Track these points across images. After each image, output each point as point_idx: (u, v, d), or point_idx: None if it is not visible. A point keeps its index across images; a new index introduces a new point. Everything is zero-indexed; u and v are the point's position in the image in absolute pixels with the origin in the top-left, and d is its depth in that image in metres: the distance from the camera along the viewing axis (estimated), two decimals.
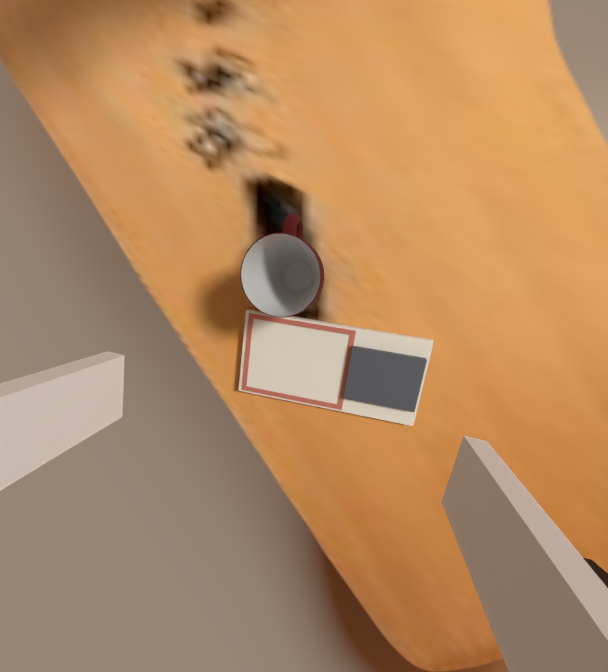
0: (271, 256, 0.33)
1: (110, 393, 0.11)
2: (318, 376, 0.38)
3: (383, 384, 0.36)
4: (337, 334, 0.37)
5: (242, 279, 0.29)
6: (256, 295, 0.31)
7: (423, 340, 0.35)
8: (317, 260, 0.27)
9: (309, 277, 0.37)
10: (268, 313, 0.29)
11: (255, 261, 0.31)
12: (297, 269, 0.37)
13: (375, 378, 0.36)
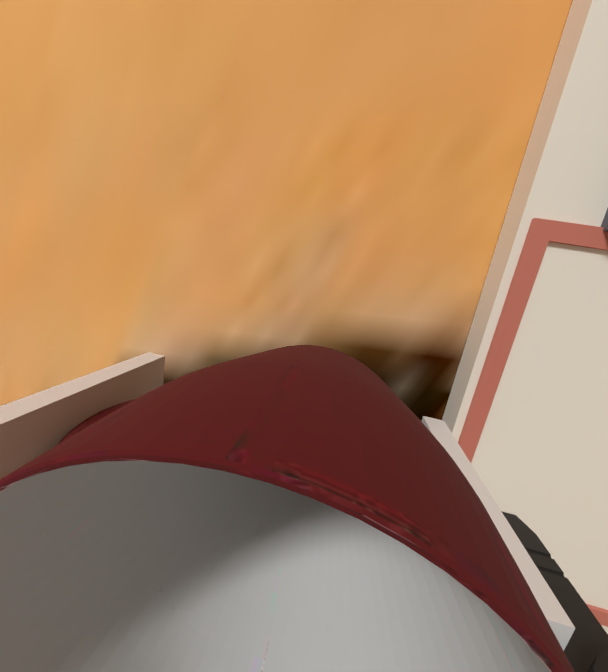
0: (227, 520, 0.09)
1: None
2: None
3: None
4: (537, 292, 0.09)
5: None
6: None
7: None
8: (52, 468, 0.03)
9: None
10: None
11: (212, 644, 0.07)
12: None
13: None
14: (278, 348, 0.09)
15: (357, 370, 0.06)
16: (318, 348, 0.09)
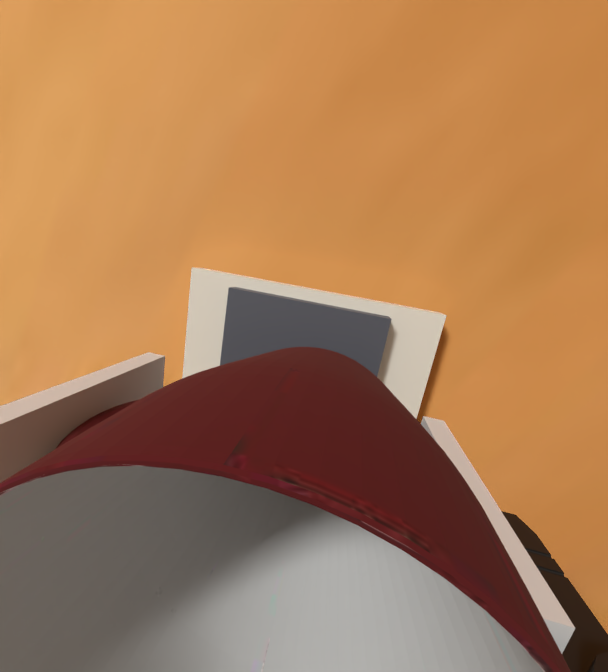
0: (227, 522, 0.09)
1: (152, 391, 0.12)
2: None
3: None
4: None
5: None
6: None
7: (192, 293, 0.14)
8: (51, 473, 0.03)
9: None
10: None
11: (211, 647, 0.07)
12: None
13: None
14: None
15: (357, 372, 0.06)
16: (318, 350, 0.09)
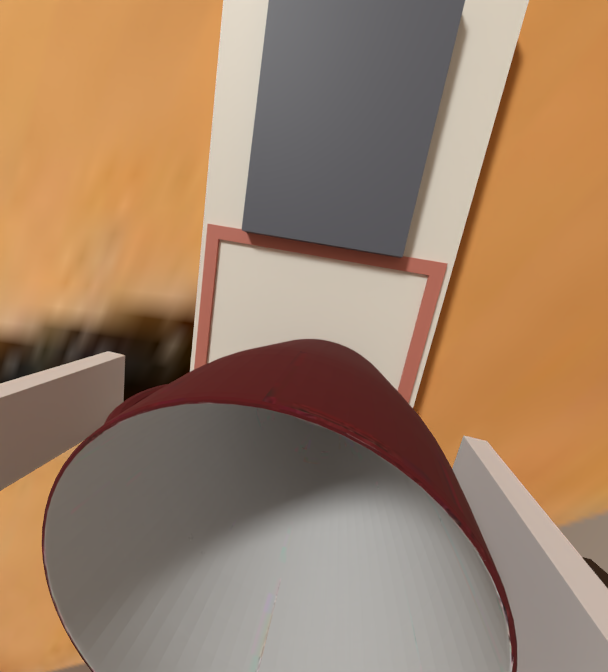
0: (244, 488, 0.11)
1: (110, 393, 0.11)
2: (336, 329, 0.14)
3: (357, 123, 0.11)
4: (220, 274, 0.14)
5: None
6: (355, 636, 0.07)
7: (225, 15, 0.12)
8: (149, 410, 0.04)
9: None
10: None
11: (233, 582, 0.09)
12: None
13: (335, 152, 0.11)
14: None
15: (353, 357, 0.08)
16: (322, 341, 0.10)
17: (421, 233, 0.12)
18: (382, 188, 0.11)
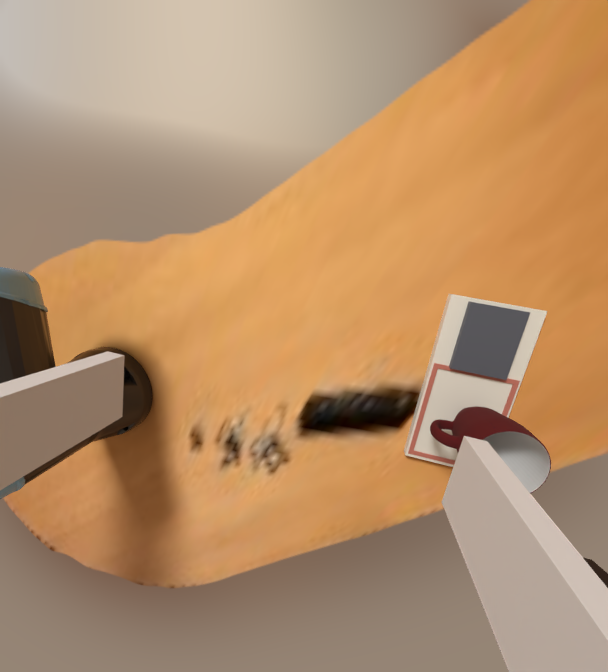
0: None
1: (110, 393, 0.11)
2: (478, 399, 0.39)
3: (494, 341, 0.37)
4: (436, 379, 0.40)
5: None
6: None
7: (450, 303, 0.37)
8: (499, 432, 0.30)
9: None
10: (542, 479, 0.30)
11: None
12: None
13: (486, 349, 0.37)
14: (479, 409, 0.36)
15: (507, 417, 0.34)
16: (489, 409, 0.36)
17: (511, 371, 0.38)
18: (501, 360, 0.37)
